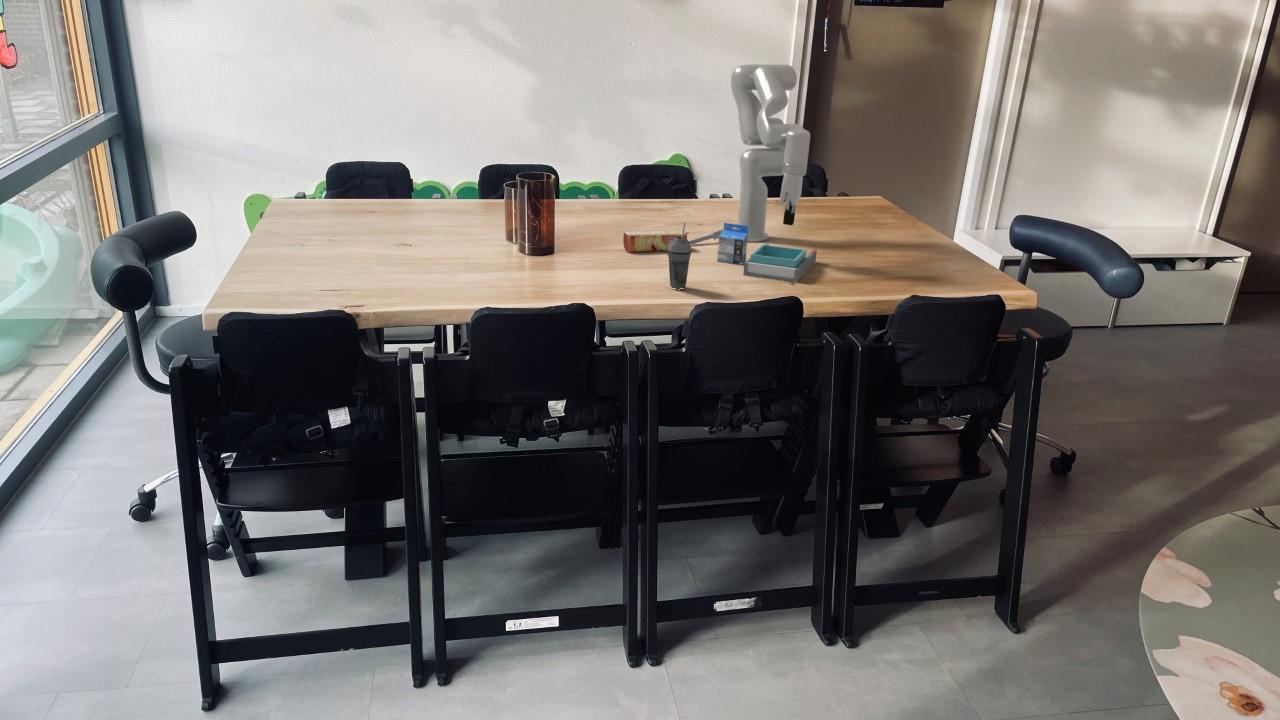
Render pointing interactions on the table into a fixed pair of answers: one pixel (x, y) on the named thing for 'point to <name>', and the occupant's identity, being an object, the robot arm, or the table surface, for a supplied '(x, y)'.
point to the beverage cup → (679, 261)
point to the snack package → (649, 240)
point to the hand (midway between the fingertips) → (788, 224)
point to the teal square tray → (778, 256)
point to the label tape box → (733, 244)
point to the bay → (779, 269)
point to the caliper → (707, 237)
